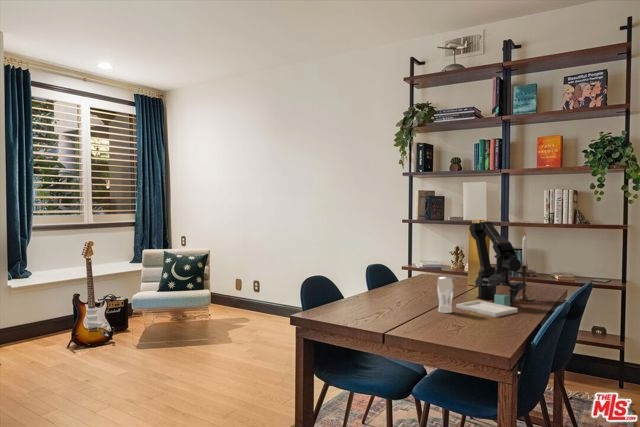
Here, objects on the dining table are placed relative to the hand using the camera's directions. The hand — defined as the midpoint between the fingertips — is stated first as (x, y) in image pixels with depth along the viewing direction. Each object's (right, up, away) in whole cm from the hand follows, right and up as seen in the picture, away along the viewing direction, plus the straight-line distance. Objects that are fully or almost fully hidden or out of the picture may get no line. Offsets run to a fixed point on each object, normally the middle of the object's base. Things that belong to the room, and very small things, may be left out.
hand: (502, 301), depth 211 cm
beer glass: (-31, -2, -14) cm, 34 cm away
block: (0, -2, 0) cm, 2 cm away
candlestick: (+16, -2, +13) cm, 21 cm away
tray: (-11, -2, -10) cm, 15 cm away
